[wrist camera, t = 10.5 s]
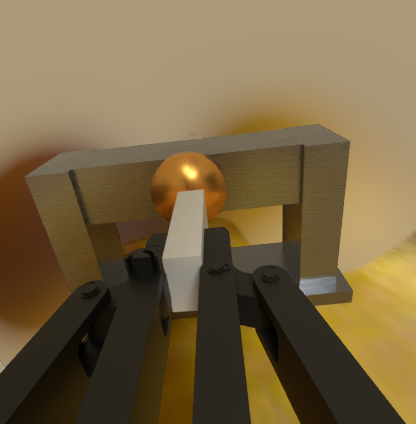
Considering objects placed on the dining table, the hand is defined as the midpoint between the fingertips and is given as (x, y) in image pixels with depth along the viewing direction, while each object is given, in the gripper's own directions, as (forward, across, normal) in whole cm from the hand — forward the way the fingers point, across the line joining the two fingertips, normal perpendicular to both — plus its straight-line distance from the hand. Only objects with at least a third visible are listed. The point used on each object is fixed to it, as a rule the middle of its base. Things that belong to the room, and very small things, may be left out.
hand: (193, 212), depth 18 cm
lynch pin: (+10, +1, +3) cm, 11 cm away
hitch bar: (+7, +1, +11) cm, 13 cm away
